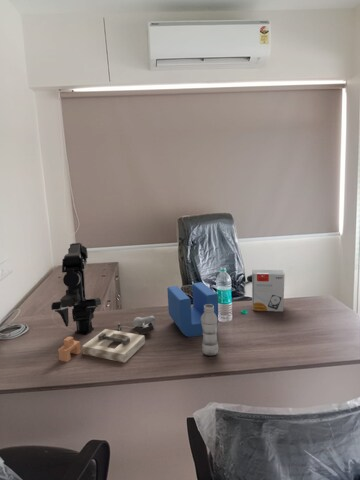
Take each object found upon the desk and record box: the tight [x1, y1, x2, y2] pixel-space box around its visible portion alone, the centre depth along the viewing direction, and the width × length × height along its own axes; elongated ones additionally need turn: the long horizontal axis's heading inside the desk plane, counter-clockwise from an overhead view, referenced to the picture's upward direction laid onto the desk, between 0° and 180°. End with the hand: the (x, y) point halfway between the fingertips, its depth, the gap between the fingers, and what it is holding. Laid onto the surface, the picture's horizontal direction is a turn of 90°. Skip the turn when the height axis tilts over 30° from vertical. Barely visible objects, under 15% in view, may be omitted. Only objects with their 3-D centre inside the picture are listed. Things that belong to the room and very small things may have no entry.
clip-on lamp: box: [117, 315, 156, 335], centre depth 155 cm, size 12×6×18 cm
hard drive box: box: [251, 269, 285, 313], centre depth 172 cm, size 16×8×20 cm, turn 81°
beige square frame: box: [81, 328, 146, 363], centre depth 140 cm, size 20×16×5 cm
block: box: [167, 281, 219, 338], centre depth 155 cm, size 18×18×18 cm
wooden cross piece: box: [57, 336, 82, 363], centre depth 135 cm, size 4×8×8 cm, turn 157°
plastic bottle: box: [201, 304, 220, 357], centre depth 131 cm, size 6×7×20 cm
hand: (77, 325), depth 133 cm, fingers open, 9 cm apart
